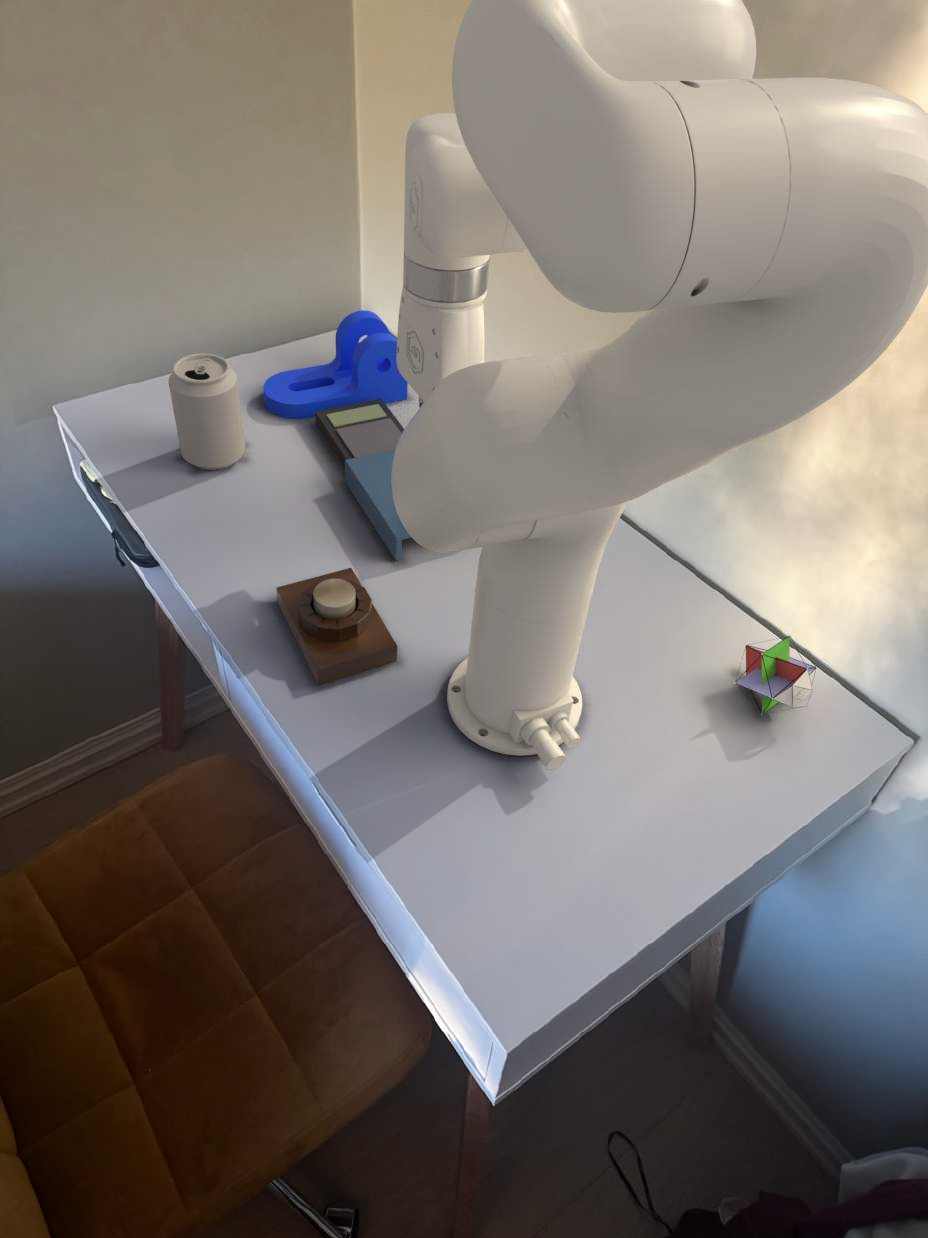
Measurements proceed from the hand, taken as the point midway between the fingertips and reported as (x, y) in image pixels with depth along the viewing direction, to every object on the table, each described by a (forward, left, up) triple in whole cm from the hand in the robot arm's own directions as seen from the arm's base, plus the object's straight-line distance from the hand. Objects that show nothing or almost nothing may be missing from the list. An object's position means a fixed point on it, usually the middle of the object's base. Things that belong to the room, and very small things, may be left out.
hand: (437, 449), depth 93 cm
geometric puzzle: (-34, -20, -12) cm, 41 cm away
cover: (+5, 0, -12) cm, 13 cm away
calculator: (+18, 0, -12) cm, 22 cm away
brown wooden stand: (-10, +15, -12) cm, 21 cm away
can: (+23, +18, -12) cm, 32 cm away
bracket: (+31, 0, -12) cm, 34 cm away
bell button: (-10, +15, -8) cm, 20 cm away
